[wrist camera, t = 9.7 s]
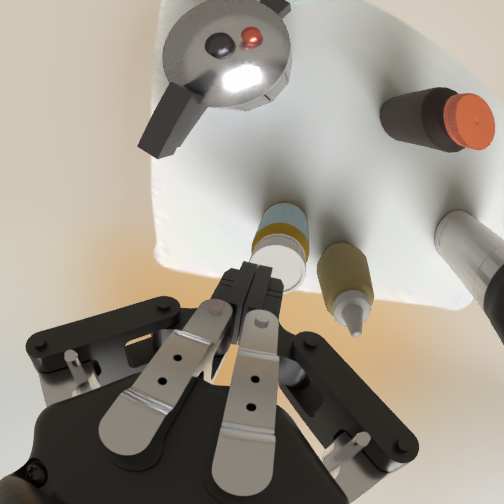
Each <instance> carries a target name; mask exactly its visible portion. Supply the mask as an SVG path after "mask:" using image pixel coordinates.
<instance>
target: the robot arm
mask: <svg viewBox="0 0 504 504" xmlns="http://www.w3.org/2000/svg"><path fill="white" fill-rule="evenodd" d="M435 246H436V250H437V251H438V253H439V254H440V255H441V257H442V258H443V259H444V260H445V261H446V262H447V264H448V265H449V266H450V267H451V269H452V270H453V271H454V272H455V274H456V275H457V276H458V277H459V279H460V280H461V281H462V282H463V284H464V285H465V286H466V288H467V289H468V290H469V292H470V293H471V294H472V296H473V297H474V298H475V300H476V301H477V302H478V304H479V305H480V306H481V308H482V309H483V311H484V312H485V314H486V315H487V317H488V318H489V319H490V322H491V324H492V326H493V327H494V329H495V331H496V332H497V334H498V336H499V337H500V339H501V341H502V343H503V345H504V240H503V239H502V238H501V237H499V236H498V235H497V234H495V233H494V232H493V231H492V230H490V229H489V228H488V227H486V226H485V225H484V224H482V223H481V222H479V221H478V220H477V219H475V218H474V217H473V216H471V215H470V214H468V213H467V212H465V211H462V210H455V211H452V212H450V213H448V214H447V215H446V216H445V217H444V218H443V219H442V220H441V222H440V223H439V225H438V227H437V229H436V233H435ZM272 269H273V267H268V266H264V265H259V266H258V264H254V263H250V262H246V261H244V262H243V264H242V266H241V268H240V270H237V269H233V268H231V269H229V270H228V271H226V272H225V273H224V275H223V276H222V279H221V280H220V282H219V284H218V286H217V288H216V289H215V291H214V293H213V295H212V297H211V298H210V299H209V300H206V301H204V302H202V303H201V305H200V306H199V307H198V308H192V309H190V308H180V304H179V302H178V301H177V300H176V299H174V298H172V297H168V296H160V297H156V298H153V299H149V300H146V301H143V302H139V303H136V304H133V305H129V306H126V307H123V308H119V309H116V310H113V311H109V312H106V313H103V314H99V315H96V316H93V317H89V318H86V319H83V320H79V321H75V322H72V323H68V324H65V325H62V326H58V327H55V328H51V329H47V330H44V331H40V332H37V333H35V334H33V335H32V336H31V337H30V338H29V339H28V340H27V343H26V351H27V353H28V355H29V356H30V358H31V360H32V362H33V365H34V367H35V369H36V371H37V372H38V374H39V377H40V382H41V386H42V390H43V394H44V398H45V402H46V406H47V408H45V409H44V410H43V411H42V412H41V414H40V415H39V417H38V419H37V421H36V424H35V429H34V441H33V447H32V452H31V455H30V458H29V460H28V461H27V463H26V464H25V465H24V466H23V467H21V468H20V469H18V470H17V471H15V472H14V473H12V474H10V475H8V476H6V477H4V478H3V479H1V480H0V504H350V503H351V502H353V501H354V500H356V499H357V498H358V497H360V496H361V495H362V494H364V493H365V492H366V491H368V490H369V489H370V488H371V487H373V486H374V485H375V484H376V483H378V482H379V481H380V480H382V479H383V478H385V477H387V476H388V475H390V474H392V473H394V472H395V471H397V470H398V469H400V468H402V467H403V466H405V465H406V464H408V463H409V462H411V461H412V460H414V459H415V457H416V456H417V454H418V451H419V443H418V440H417V438H416V437H415V435H414V434H413V433H412V432H411V431H410V430H409V429H408V428H407V427H406V426H405V425H404V424H403V423H402V421H401V420H400V419H399V418H398V417H397V416H396V415H395V414H394V413H393V412H392V411H391V410H390V409H389V408H388V407H387V406H386V405H385V403H384V402H383V401H382V400H381V399H380V398H379V397H378V396H377V395H376V394H375V393H374V392H373V391H372V390H371V389H370V387H369V386H368V385H367V384H366V383H365V382H364V381H363V380H362V379H361V378H360V377H359V376H358V375H357V374H356V373H355V371H354V370H353V369H352V368H351V367H350V366H349V365H348V364H347V363H346V362H345V361H344V360H343V359H342V358H341V356H340V355H339V354H338V353H337V352H336V351H335V350H334V349H333V348H332V347H331V346H330V345H329V344H328V343H327V341H326V340H325V339H324V338H323V337H321V336H320V335H318V334H316V333H313V332H300V333H298V334H297V335H294V334H292V333H289V332H287V331H286V330H285V329H283V327H282V326H281V325H280V323H279V313H280V307H281V301H282V295H283V290H284V285H283V283H282V280H281V279H277V278H273V277H271V274H272ZM148 334H151V337H150V338H147V339H145V340H142V341H139V342H136V343H133V344H130V345H127V346H125V345H126V343H127V342H129V341H131V340H133V339H136V338H139V337H142V336H145V335H148ZM238 338H239V339H238ZM237 341H238V345H239V349H238V352H237V357H236V361H235V366H234V370H233V375H232V380H231V384H230V386H217V385H213V383H214V381H215V379H216V377H217V375H218V372H219V370H220V368H221V366H222V364H223V362H224V360H225V358H226V355H227V351H228V349H229V347H230V344H235V345H236V343H237ZM278 384H279V387H280V389H281V390H282V392H283V393H284V394H285V396H286V397H287V399H288V400H289V401H290V403H291V404H292V406H293V407H294V408H295V410H296V411H297V412H298V414H299V415H300V417H301V418H302V419H303V421H304V422H305V423H306V425H307V426H308V427H309V429H310V430H311V431H312V433H313V434H314V435H315V436H316V437H317V439H318V440H319V442H320V443H321V444H322V445H323V446H324V448H325V449H326V450H325V451H324V453H323V458H322V459H323V463H322V461H321V460H320V459H319V457H318V456H317V455H316V453H315V451H314V450H313V449H312V447H311V446H310V444H309V443H308V441H307V440H306V438H305V437H304V435H303V434H302V433H301V431H300V430H299V428H298V427H297V425H296V424H295V422H294V421H293V419H292V418H291V417H290V416H289V414H288V413H287V412H286V411H284V410H283V409H282V408H281V407H279V406H278V405H276V403H277V388H278Z"/></svg>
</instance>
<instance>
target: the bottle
mask: <svg viewBox="0 0 504 504" xmlns="http://www.w3.org/2000/svg"><path fill="white" fill-rule="evenodd" d="M251 251H252V255H251V258H250V261H249V262H250V263H254V264H258V266H259V265H264V266H268V267H273V269H272V274H271V277H273V278H277V279H281V280H282V283H283V285H284V290H283V294H287V293H290V292H292V291H294V290H295V289H297V288H298V287H299V286H300V285H301V283H302V282H303V280H304V277H305V274H306V262H307V260H308V256H309V236H308V223H307V218H306V215H305V213H304V212H303V210H302V209H300V208H299V207H298V206H297V205H295V204H292V203H288V202H280V203H276V204H274V205H272V206H271V207H269V208H268V209H267V210H266V212H265V213H264V216H263V218H262V220H261V223H260V225H259V228H258V230H257V232H256V235H255V237H254V240H253V243H252V250H251Z"/></svg>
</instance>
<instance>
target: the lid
mask: <svg viewBox="0 0 504 504" xmlns="http://www.w3.org/2000/svg"><path fill="white" fill-rule="evenodd" d="M290 51H291V50H290V39H289V34H288V31H287V29H286V26H285V24H284V23H283V21H282V20H281V18H280V17H279V16H278V15H277V14H276V13H275V12H274V11H273V10H272V9H270V8H269V7H267V6H266V5H264V4H262V3H260V2H258V1H255V0H210V1H207V2H205V3H202V4H200V5H198V6H196V7H194V8H193V9H191V10H190V11H188V12H187V13H186V14H185V15H183V16H182V17H181V18H180V19H179V20H178V21H177V23H176V24H175V25H174V26H173V28H172V29H171V31H170V33H169V35H168V37H167V39H166V42H165V45H164V49H163V68H164V72H165V75H166V77H167V79H168V81H169V83H170V84H169V86H168V87H167V89H166V91H165V93H164V94H163V96H162V98H161V100H160V102H159V104H158V105H157V107H156V109H155V111H154V113H153V115H152V117H151V119H150V121H149V123H148V125H147V127H146V129H145V131H144V133H143V135H142V138H141V139H140V142H139V144H138V147H139V148H141V149H142V150H144V151H145V152H147V153H149V154H150V155H152V156H153V157H155V158H156V159H160V158H163V157H166V156H170V155H173V154H174V152H175V150H176V148H177V147H178V145H179V143H180V141H181V139H182V137H183V136H184V134H185V132H186V130H187V128H188V127H189V125H190V123H191V121H192V120H193V118H194V116H195V115H196V113H197V111H198V110H199V108H200V106H201V105H202V106H208V107H213V108H230V107H236V106H240V105H244V104H247V103H249V102H252V101H254V100H256V99H258V98H260V97H261V96H263V95H264V94H266V93H267V92H268V91H270V90H271V89H272V88H273V87H274V86H275V85H276V84H277V82H278V81H279V80H280V79H281V77H282V76H283V74H284V72H285V70H286V68H287V66H288V62H289V59H290Z"/></svg>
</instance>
